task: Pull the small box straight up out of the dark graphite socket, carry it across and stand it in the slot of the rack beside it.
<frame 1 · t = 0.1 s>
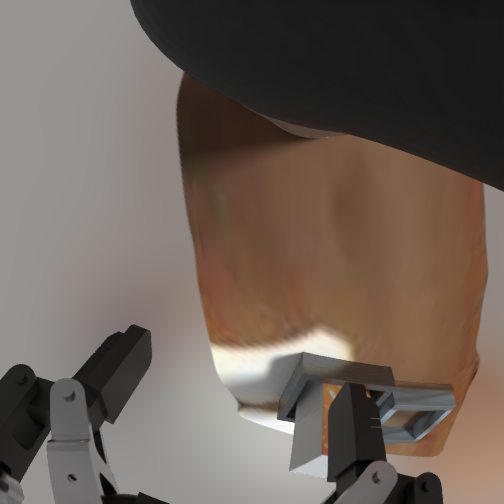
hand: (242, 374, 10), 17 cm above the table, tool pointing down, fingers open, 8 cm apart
socket: (333, 387, 33), on the table
small box: (333, 385, 33), resting in socket
rack: (403, 406, 33), on the table
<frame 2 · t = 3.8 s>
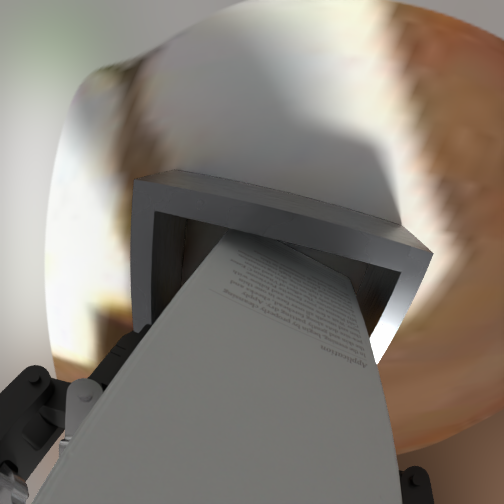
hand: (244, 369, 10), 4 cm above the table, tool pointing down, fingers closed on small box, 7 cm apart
socket: (260, 310, 14), on the table
small box: (261, 308, 14), resting in socket, touching gripper
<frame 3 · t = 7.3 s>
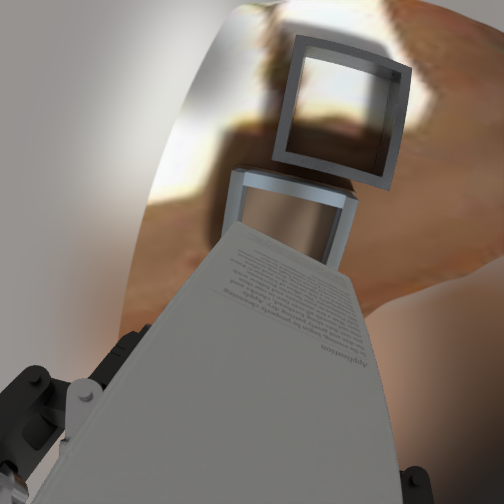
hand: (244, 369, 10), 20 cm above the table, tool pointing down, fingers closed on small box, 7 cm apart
socket: (341, 112, 23), on the table
small box: (261, 308, 14), point 16 cm above the table, touching gripper
rack: (283, 235, 29), on the table
when the fingers open (8 cm above the table, at t = 10.7 s): small box drops 2 cm, resting on rack.
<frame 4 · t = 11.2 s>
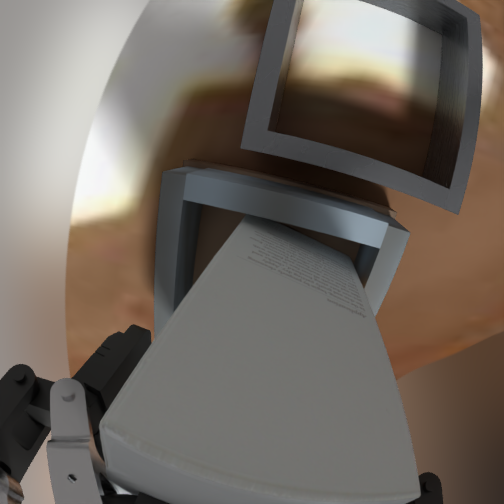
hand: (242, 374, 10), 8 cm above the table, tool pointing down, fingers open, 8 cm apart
socket: (370, 71, 12), on the table
small box: (273, 288, 16), point 1 cm above the table, touching rack
rack: (267, 280, 17), on the table
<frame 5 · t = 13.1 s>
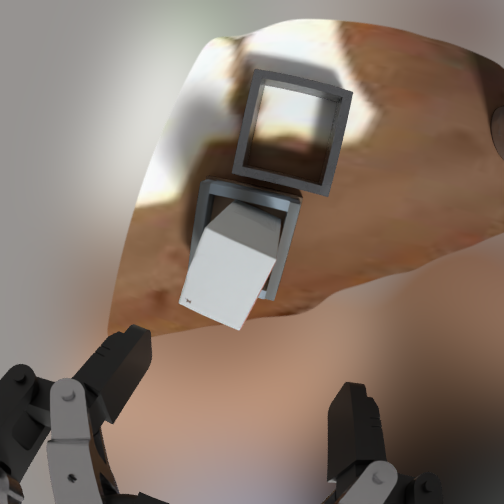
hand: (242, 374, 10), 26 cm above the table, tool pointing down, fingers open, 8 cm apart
socket: (292, 132, 30), on the table
small box: (247, 235, 35), point 1 cm above the table, touching rack
rack: (244, 233, 36), on the table
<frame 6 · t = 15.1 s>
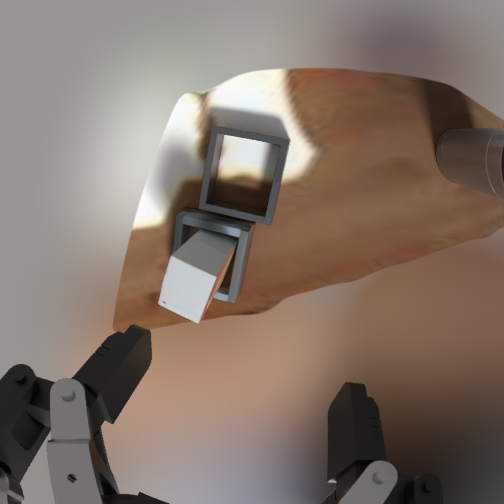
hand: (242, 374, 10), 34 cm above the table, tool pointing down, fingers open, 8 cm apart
socket: (246, 172, 41), on the table
small box: (214, 253, 45), point 1 cm above the table, touching rack
rack: (213, 251, 46), on the table
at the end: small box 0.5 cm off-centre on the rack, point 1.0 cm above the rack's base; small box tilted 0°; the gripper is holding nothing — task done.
